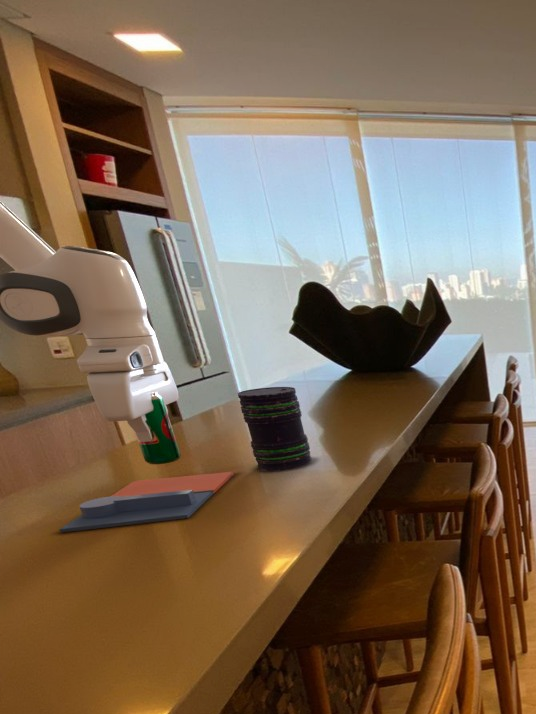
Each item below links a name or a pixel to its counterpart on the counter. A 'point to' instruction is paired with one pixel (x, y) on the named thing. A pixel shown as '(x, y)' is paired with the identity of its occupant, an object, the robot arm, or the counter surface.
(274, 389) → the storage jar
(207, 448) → the counter surface
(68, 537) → the counter surface
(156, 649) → the counter surface
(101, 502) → the rounded-end blue bar
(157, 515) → the sorting mat
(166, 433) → the soda can
